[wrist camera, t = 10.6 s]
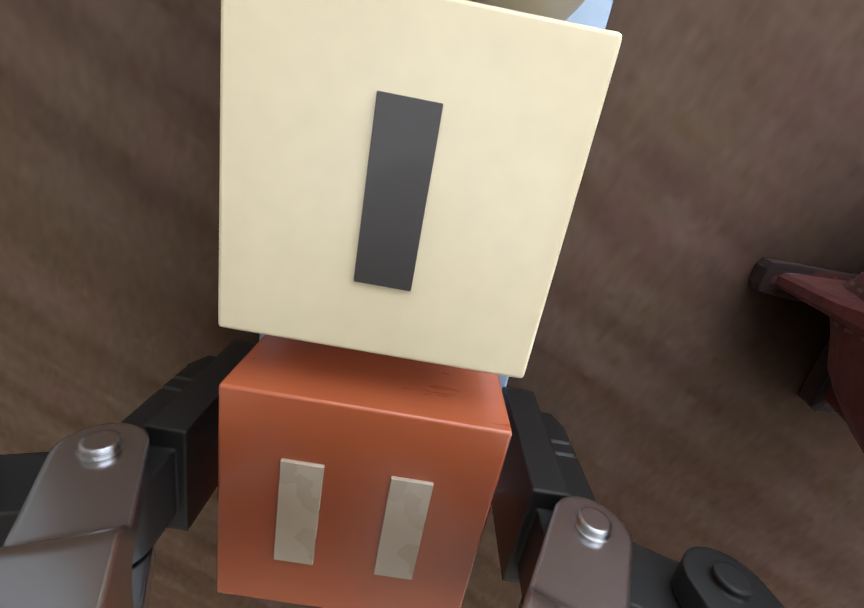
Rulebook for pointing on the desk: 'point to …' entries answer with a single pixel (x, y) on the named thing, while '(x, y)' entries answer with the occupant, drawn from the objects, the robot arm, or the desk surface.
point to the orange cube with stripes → (354, 476)
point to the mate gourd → (849, 334)
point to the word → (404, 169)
